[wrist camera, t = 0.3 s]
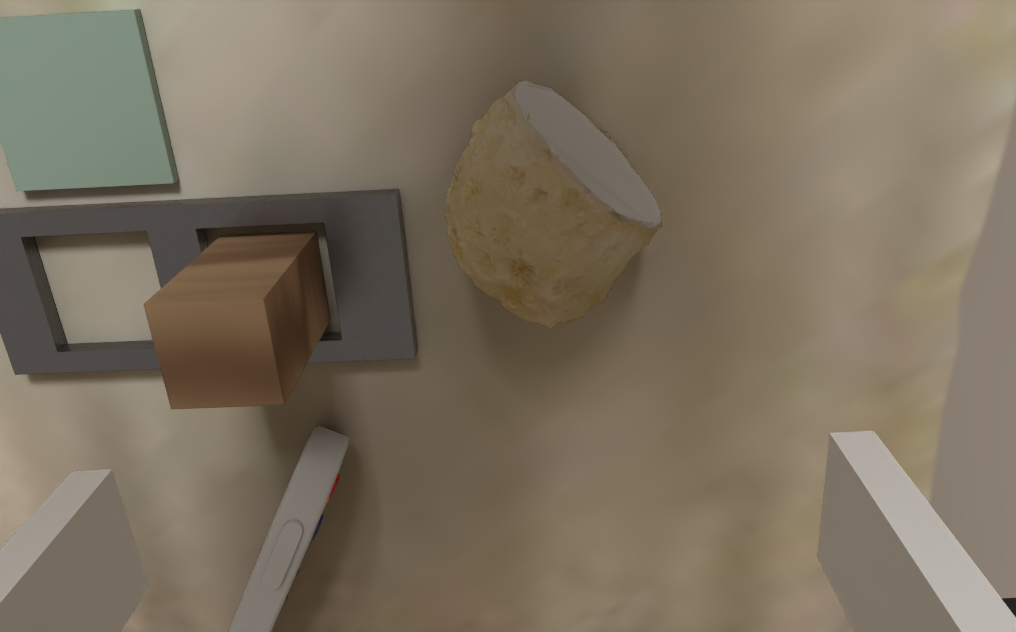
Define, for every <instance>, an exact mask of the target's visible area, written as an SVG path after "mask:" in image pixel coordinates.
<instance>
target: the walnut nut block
mask: <svg viewBox="0 0 1016 632" xmlns="http://www.w3.org/2000/svg"><path fill="white" fill-rule="evenodd" d="M144 308H145V312H146V315H147V319H148V323H149V327H150V331H151V334H152V338H153V342H154V346H155V349H156V353H157V357H158V361H159V365H160V368H161V372H162V376H163V380H164V384H165V387H166V391H167V395H168V399H169V402H170V406H171V409H191V408H217V407H243V406H269V405H284V404H285V402H286V400H287V399H288V397H289V395H290V393H291V391H292V390H293V388H294V386H295V384H296V382H297V380H298V379H299V377H300V375H301V373H302V371H303V370H304V368H305V366H306V364H307V362H308V360H309V359H310V357H311V355H312V353H313V351H314V349H315V348H316V346H317V344H318V342H319V340H320V339H321V337H322V335H323V333H324V331H325V329H326V328H327V326H328V324H329V322H330V320H331V318H330V312H329V306H328V300H327V294H326V287H325V281H324V275H323V269H322V262H321V256H320V250H319V244H318V238H317V231H309V232H288V233H267V234H246V235H225V236H220V237H219V238H218V239H216V240H215V241H214V242H213V243H212V244H211V245H210V246H209V247H207V248H206V249H205V250H204V251H203V252H202V253H201V254H200V255H198V256H197V257H196V258H195V259H194V260H193V261H192V262H191V263H189V264H188V265H187V266H186V267H185V268H184V269H183V270H182V271H180V272H179V273H178V274H177V275H176V276H175V277H174V278H173V279H171V280H170V281H169V282H168V283H167V284H166V285H165V286H164V287H162V288H161V289H160V290H159V291H158V292H157V293H156V294H155V295H153V296H152V297H151V298H150V299H149V300H148V301H147V302H146V303H144Z"/></svg>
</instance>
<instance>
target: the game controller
mask: <svg viewBox="0 0 1016 632" xmlns="http://www.w3.org/2000/svg"><path fill="white" fill-rule="evenodd" d="M349 441H350V440H349V438H348V437H347V436H345V435H343V434H340V433H337V432H335V431H332V430H329V429H327V428H324V427H321V426H316V427H315V428H314V429H313V431H312V433H311V435H310V437H309V439H308V441H307V444H306V446H305V448H304V450H303V452H302V455H301V457H300V459H299V461H298V464H297V466H296V468H295V471H294V473H293V475H292V478H291V480H290V482H289V485H288V487H287V489H286V492H285V494H284V496H283V499H282V501H281V503H280V506H279V508H278V511H277V513H276V515H275V518H274V520H273V523H272V525H271V527H270V530H269V532H268V535H267V537H266V540H265V542H264V545H263V547H262V550H261V552H260V554H259V557H258V559H257V562H256V564H255V567H254V569H253V572H252V574H251V577H250V579H249V582H248V584H247V587H246V589H245V592H244V594H243V597H242V599H241V602H240V604H239V606H238V609H237V611H236V614H235V616H234V619H233V621H232V624H231V626H230V629H229V631H228V632H271V631H272V629H273V627H274V624H275V622H276V620H277V617H278V615H279V613H280V611H281V608H282V606H283V604H284V601H285V600H286V599H287V597H288V592H289V590H290V587H291V585H292V583H293V581H294V578H295V576H296V575H297V573H298V572H299V568H300V564H301V562H302V560H303V557H304V555H305V553H306V550H307V548H308V546H309V545H310V544H311V543H312V540H313V539H314V538H315V536H316V534H317V531H318V529H319V527H320V524H321V522H322V519H323V516H324V515H323V514H322V512H323V510H324V507H325V505H327V503H328V501H329V499H330V498H331V497H332V494H333V492H334V490H335V487H336V485H337V482H338V480H339V477H340V474H338V472H339V470H340V467H341V464H342V462H343V459H344V456H345V454H346V451H347V448H348V445H349Z"/></svg>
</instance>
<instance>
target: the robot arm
mask: <svg viewBox="0 0 1016 632" xmlns="http://www.w3.org/2000/svg"><path fill="white" fill-rule="evenodd" d="M817 557H818V559H819V561H820V563H821V565H822V567H823V569H824V571H825V573H826V575H827V577H828V579H829V581H830V583H831V585H832V587H833V589H834V591H835V593H836V595H837V597H838V599H839V601H840V603H841V605H842V607H843V609H844V611H845V613H846V615H847V617H848V619H849V621H850V623H851V625H852V627H853V629H854V631H855V632H1016V598H1004V599H1003V598H1002V599H1001V597H1000V596H999V595H998V594H997V592H996V591H995V590H994V588H993V587H992V586H991V584H990V583H989V582H988V580H987V579H986V578H985V576H984V575H983V574H982V573H981V571H980V570H979V569H978V567H977V566H976V565H975V563H974V562H973V561H972V559H971V558H970V557H969V556H968V554H967V553H966V551H965V550H964V549H963V548H962V546H961V545H960V544H959V542H958V541H957V540H956V538H955V537H954V536H953V534H952V533H951V532H950V530H949V529H948V528H947V526H946V525H945V524H944V523H943V521H942V520H941V519H940V517H939V516H938V515H937V513H936V512H935V511H934V510H933V508H932V507H931V505H930V504H929V503H928V502H927V500H926V499H925V498H924V496H923V495H922V494H921V492H920V491H919V490H918V488H917V487H916V486H915V484H914V483H913V482H912V481H911V479H910V478H909V477H908V475H907V474H906V473H905V471H904V470H903V469H902V467H901V466H900V465H899V463H898V462H897V461H896V459H895V458H894V457H893V456H892V454H891V453H890V452H889V450H888V449H887V448H886V446H885V445H884V444H883V442H882V441H881V440H880V438H879V437H878V436H877V435H876V433H875V432H874V431H858V432H839V433H830V435H829V445H828V455H827V465H826V474H825V484H824V494H823V504H822V514H821V524H820V533H819V543H818V553H817ZM148 587H149V582H148V579H147V576H146V573H145V570H144V567H143V564H142V561H141V558H140V554H139V551H138V548H137V545H136V542H135V539H134V536H133V533H132V530H131V527H130V523H129V520H128V517H127V514H126V511H125V508H124V505H123V502H122V499H121V496H120V492H119V489H118V486H117V483H116V480H115V477H114V474H113V471H112V469H110V470H91V471H72V472H71V473H70V474H69V475H68V476H67V478H66V479H65V480H64V481H63V482H62V483H61V484H60V485H59V486H58V487H57V489H56V490H55V491H54V492H53V493H52V494H51V495H50V496H49V497H48V498H47V499H46V501H45V502H44V503H43V504H42V505H41V506H40V507H39V508H38V509H37V510H36V511H35V513H34V514H33V515H32V516H31V517H30V518H29V519H28V520H27V521H26V522H25V523H24V525H23V526H22V527H21V528H20V529H19V530H18V531H17V532H16V533H15V534H14V536H13V537H12V538H11V539H10V540H9V541H8V542H7V543H6V544H5V545H4V546H3V548H2V549H1V550H0V632H121V631H122V629H123V627H124V626H125V624H126V622H127V621H128V619H129V618H130V616H131V614H132V613H133V611H134V610H135V608H136V606H137V605H138V603H139V601H140V600H141V598H142V597H143V595H144V593H145V592H146V590H147V588H148Z"/></svg>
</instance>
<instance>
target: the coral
mask: <svg viewBox="0 0 1016 632" xmlns="http://www.w3.org/2000/svg"><path fill="white" fill-rule="evenodd" d="M445 213H446V221H447V233H448V239H449V242H450V244H451V247H452V250H453V252H454V257H455V258H456V260H457V262H458V265H459V266H460V267H461V268H462V269H463V271H464V274H466V275H467V276H468V277H470V278H471V279H472V280H473V282H474V284H475V286H476V287H477V288H479V289H480V290H482V291H483V292H484V293H486V294H487V295H489V296H491V297H494V298H495V299H498V300H500V301H501V304H502V307H504V308H506V309H507V310H509V311H510V312H511V313H513V314H514V315H516V316H518V317H519V318H521V319H523V320H526V321H530V322H536V323H538V324H542V325H544V326H546V327H548V328H552V327H553V326H555V325H558V324H562V323H564V322H566V321H570V320H574V319H577V318H580V317H582V316H583V315H584V313H585V312H586V311H587V310H588V309H590V308H592V307H594V306H596V305H597V304H599V303H601V302H602V301H604V300H605V299H606V298H607V297H608V295H607V293H608V291H609V290H610V289H611V287H612V285H613V283H614V281H615V279H616V278H617V277H618V276H620V275H622V273H623V271H624V269H625V268H626V266H627V265H628V264H629V262H630V260H631V258H632V257H634V256H635V255H636V254H637V253H639V252H640V251H641V250H642V249H643V248H644V247H645V246H646V245H648V244H649V242H650V240H651V238H652V237H653V235H654V234H655V233H656V231H657V230H658V229H659V227H662V223H661V214H662V213H661V211H660V209H659V207H658V204H657V202H656V200H655V198H654V196H653V195H652V193H651V191H650V190H649V189H648V188H647V186H646V185H645V184H644V182H643V181H642V180H641V178H640V177H639V176H638V174H637V173H636V172H635V171H634V170H633V168H632V167H631V165H630V164H629V162H628V161H627V159H626V158H625V156H624V155H623V153H622V152H621V150H620V149H619V148H618V147H617V145H616V144H615V142H614V140H613V138H612V137H611V136H610V135H609V134H608V133H606V132H604V131H602V130H601V129H599V128H597V127H596V125H595V124H594V123H593V122H592V121H591V120H590V119H589V118H587V117H586V116H585V115H584V114H583V113H581V112H580V111H579V110H578V109H576V108H575V107H574V106H573V105H572V104H570V103H569V102H568V101H567V100H565V99H564V98H563V97H561V96H560V95H559V94H557V93H556V92H555V91H554V90H553V89H552V88H549V87H546V86H545V87H543V86H541V85H539V84H534V83H532V82H529V81H527V80H524V81H519V82H517V83H516V85H515V86H514V87H513V88H511V89H510V90H509V91H508V92H507V94H505V95H504V96H502V97H501V98H498V99H497V100H496V101H494V103H493V104H492V105H491V107H490V108H489V109H488V111H487V112H486V113H485V114H484V115H483V116H482V117H481V119H479V120H477V121H475V123H474V125H473V127H472V138H471V140H470V141H469V144H468V146H467V147H466V148H465V150H464V151H463V153H462V155H461V157H460V159H459V161H458V163H457V165H456V168H455V172H454V174H453V176H452V180H451V183H450V185H449V188H448V190H447V195H446V208H445Z"/></svg>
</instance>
